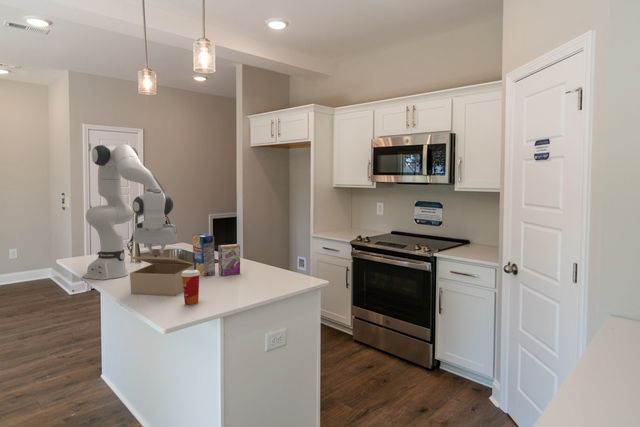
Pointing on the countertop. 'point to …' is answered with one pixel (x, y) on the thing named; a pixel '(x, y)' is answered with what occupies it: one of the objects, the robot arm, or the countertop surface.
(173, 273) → the carton
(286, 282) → the countertop surface
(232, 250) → the candy bar box
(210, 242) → the beverage box
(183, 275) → the paper cup
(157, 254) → the lid flap
